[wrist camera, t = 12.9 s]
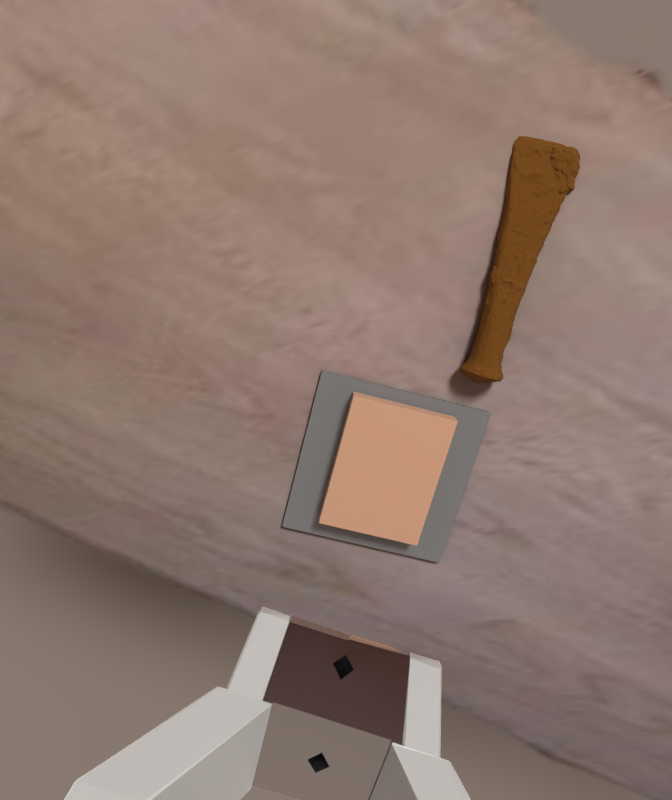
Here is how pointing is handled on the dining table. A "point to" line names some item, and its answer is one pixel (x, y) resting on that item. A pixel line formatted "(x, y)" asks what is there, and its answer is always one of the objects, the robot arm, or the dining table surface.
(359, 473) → the tile
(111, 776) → the robot arm
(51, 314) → the dining table surface
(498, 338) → the primitive tool
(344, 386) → the mat
